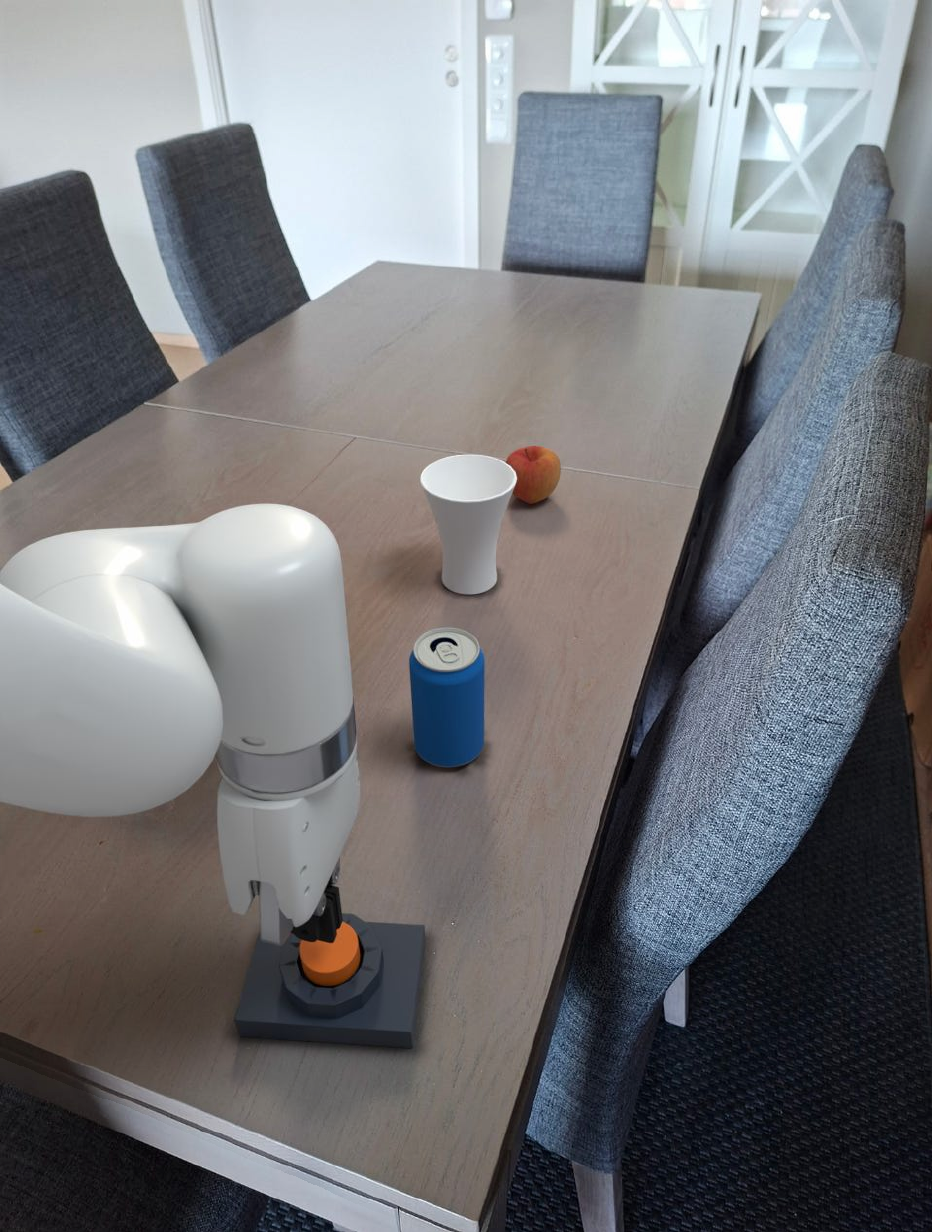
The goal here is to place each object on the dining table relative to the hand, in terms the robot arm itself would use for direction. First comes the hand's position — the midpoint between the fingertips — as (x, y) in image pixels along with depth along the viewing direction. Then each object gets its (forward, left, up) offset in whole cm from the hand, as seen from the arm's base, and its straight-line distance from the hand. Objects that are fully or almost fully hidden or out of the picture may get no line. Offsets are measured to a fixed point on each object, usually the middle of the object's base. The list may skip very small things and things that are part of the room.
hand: (316, 928), depth 58 cm
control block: (0, 0, -8) cm, 8 cm away
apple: (+13, +70, -8) cm, 72 cm away
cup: (+6, +51, -8) cm, 52 cm away
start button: (+1, 0, -4) cm, 4 cm away
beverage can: (+7, +24, -8) cm, 26 cm away
